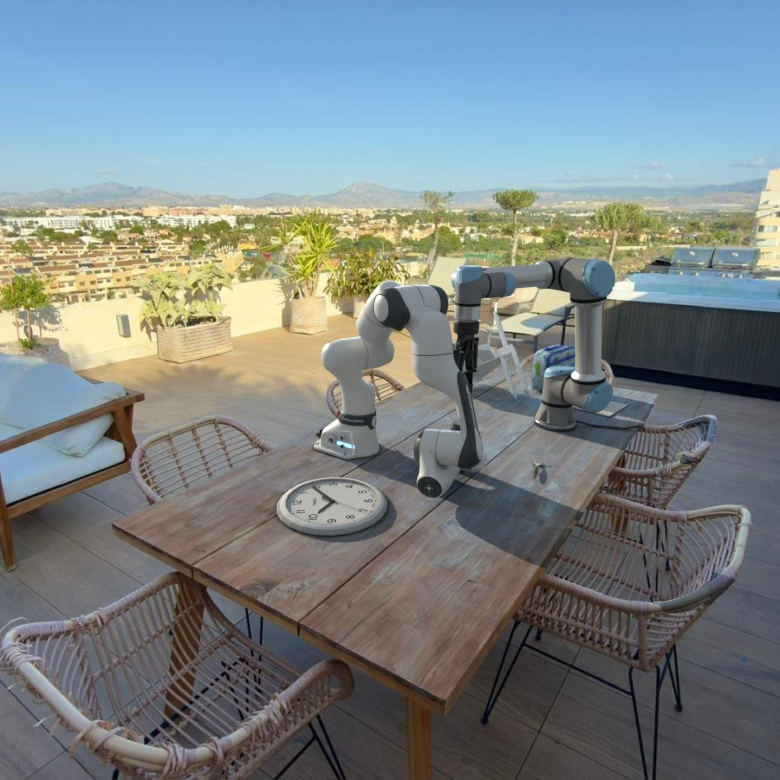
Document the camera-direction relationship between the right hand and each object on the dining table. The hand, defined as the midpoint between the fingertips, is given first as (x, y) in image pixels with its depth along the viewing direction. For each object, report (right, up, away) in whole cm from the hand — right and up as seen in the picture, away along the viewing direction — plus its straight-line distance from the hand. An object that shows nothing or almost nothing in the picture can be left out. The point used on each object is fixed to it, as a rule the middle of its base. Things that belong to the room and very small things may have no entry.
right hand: (462, 394), depth 160 cm
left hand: (0, -17, +6) cm, 18 cm away
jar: (-1, -23, +7) cm, 24 cm away
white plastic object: (+20, 0, +83) cm, 86 cm away
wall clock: (-38, -30, -17) cm, 51 cm away
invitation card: (+69, -6, +66) cm, 96 cm away
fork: (+24, -24, +6) cm, 35 cm away
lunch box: (+55, +2, +90) cm, 106 cm away
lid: (0, +4, -1) cm, 4 cm away
